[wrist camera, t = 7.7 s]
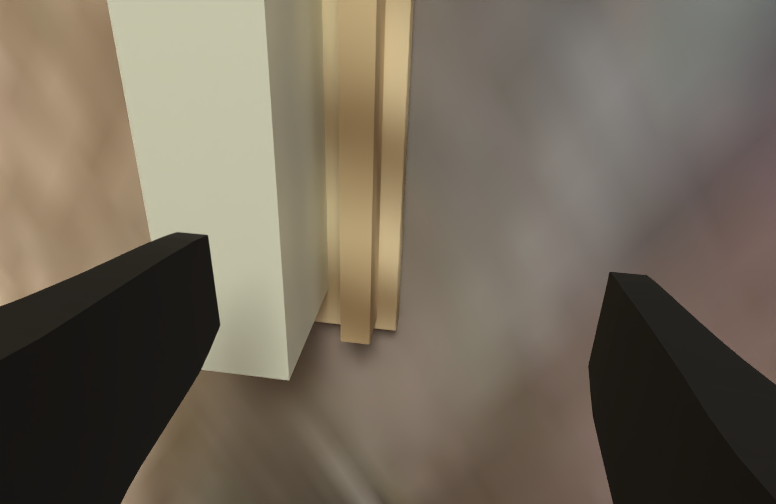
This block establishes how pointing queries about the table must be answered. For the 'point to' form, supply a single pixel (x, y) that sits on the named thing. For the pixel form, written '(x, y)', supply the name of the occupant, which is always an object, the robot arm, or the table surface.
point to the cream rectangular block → (235, 158)
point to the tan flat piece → (365, 160)
